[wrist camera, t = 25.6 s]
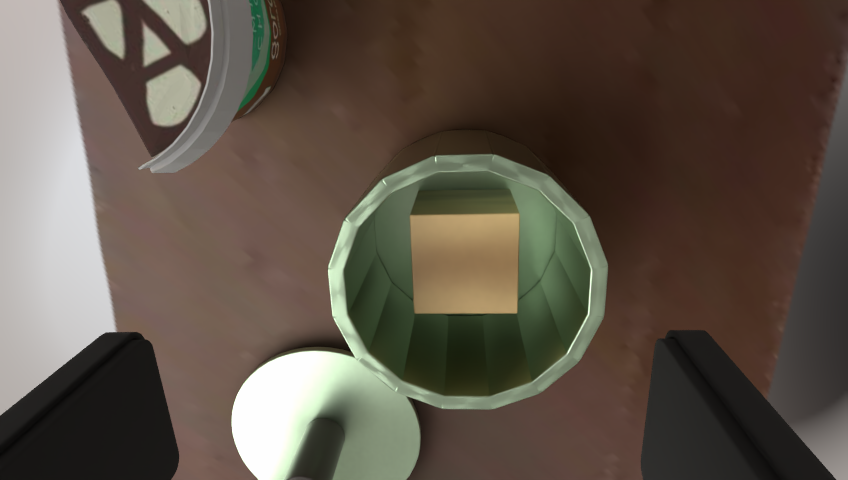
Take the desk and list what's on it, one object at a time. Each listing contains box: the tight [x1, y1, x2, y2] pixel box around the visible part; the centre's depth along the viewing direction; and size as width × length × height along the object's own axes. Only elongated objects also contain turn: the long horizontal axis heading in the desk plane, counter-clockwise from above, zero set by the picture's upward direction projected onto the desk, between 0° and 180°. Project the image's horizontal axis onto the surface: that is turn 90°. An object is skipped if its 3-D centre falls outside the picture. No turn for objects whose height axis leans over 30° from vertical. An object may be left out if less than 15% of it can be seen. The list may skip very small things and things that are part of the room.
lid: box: [232, 347, 421, 480], centre depth 32 cm, size 12×12×6 cm
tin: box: [328, 129, 608, 410], centre depth 26 cm, size 11×11×8 cm
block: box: [410, 189, 520, 314], centre depth 27 cm, size 5×5×5 cm
